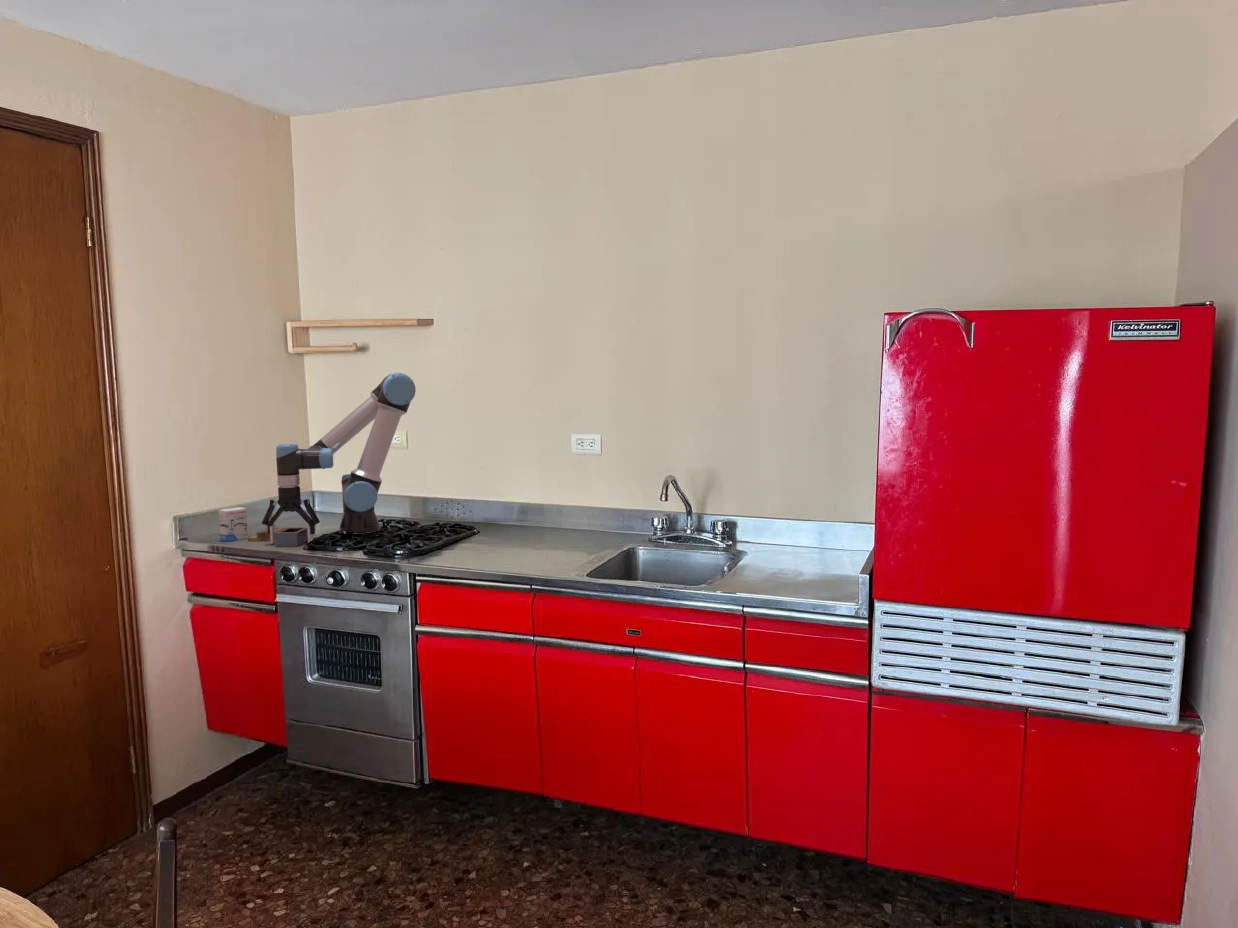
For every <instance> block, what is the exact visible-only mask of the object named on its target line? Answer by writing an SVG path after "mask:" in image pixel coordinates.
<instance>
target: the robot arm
mask: <svg viewBox="0 0 1238 928" xmlns="http://www.w3.org/2000/svg"><path fill="white" fill-rule="evenodd" d="M416 390H417V389H416V384H415V382H414V380H413V379H412V378H411V377H410V376H409V375H407V374H405V373H402V372H394V373H391V374H390V373H389V374H388V375H386V376H385V377H383V379H382V381H381V382H380V383H379V384H377V386H376V387H375V388H374V389H373V390H371V392H370V396H369V397H367V398H366V400H364V401H363V402H362V403H361V404H359V406H357V407H356V408H354V410H352V412H350V413H349V414H347V416H345V417H344V418H343V419H342V420H341V421H340V422H338V423H337V424H336V425H335V426H334V427H333V428H331V429H330V430H329V431H327V432H326V434H325V435H324V436H322V437H321V438H320V439H319V440H317V441H316V442H315V443H314V444H313V445H311V446H310V447H308V448H299V445H298V444H297V443H281V444H278V445H276V448H275V451H276V453H275V454H276V455H275V457H276V458H275V460H276V462H275V463H276V472H277V473H276V475H277V486H278V488H277V489H278V490H277V495H278V499H276V498H273V499H270V500H269V506H268V508H267V511H266V512H265V515H264V517H263V519H262V520H261V525H265V526H267V528H268V535H270V539H271V541H270V544H271V545H273V544H276V543H275V533H276V532H275V528H276V524H275V525H273V523H274V522H276V521H277V520H278V519H279V517H280V516H281V515H282V514H283V513H284V512H285V513H288V512H296V513H297V514H298V515H299V516H300V517H301V518H302V519H303V520H304V521H305V522H306V523H307V525H308V526H306V527H307V533H308V542H307V544H308V543H309V542H310V541H312V540H313V541H314V534H316V529H315V528H316V527H315V526H316V525H318V524H320V520H319V517H318V515H317V514H316V511H315V510H314V508H313V507H312V505H311V502H310V501H311V500H310V499H309V498H306V499H302V498H301V497H302V495H301V486H300V484H301V480H300V479H301V478H300V471H301V470H317V469H318V470H319V469H320V470H326V469H332V468H333V467H334V454H336V453H337V452H338V451H339V450H340V449H341V448H342V447H344V446H345V445H346V444H347V443H349V441H351V440H352V439H353V438H354V437H356V436H357V435H358V434H359V433H361V431H362V430H363V429H365V428H366V427H367V426H368V425H370V423H372V421H373V423H372V426H371V428H370V432H369V434H368V437H367V439H366V443H365V444H364V445H365V446H364V449H363V450H362V451H363V452H362V453H361V457H360V459H359V462H358V465H357V467H356V468H355V469H353V470H351V472H350V474H343V475H342V476H341V482H340V483H341V492H342V496H341V497H342V507H343V508H342V509H343V511H342V512H343V513H342V514H343V515H342V518H341V521H340V524H339V533H340V532H341V531H347V532H354V533H366V532H372V531H378V532H380V531H381V524H380V522H379V520H378V516H377V514H376V512H375V505H376V504H377V501H378V497H379V495H378V493H379V491H380V487H381V486H382V485H381V484H382V483H383V480H382V478H381V476H380V475H381V472H382V471H383V467H384V465H385V462H386V459H387V456H388V454H389V451H390V447H391V445H392V442H393V439H394V437H395V433H396V431H397V429H398V426H399V423H400V420H401V417H402V416H403V415H406V414H407V413H408V410H409V408H410V405H411V402H412V400H413V399H414V398H415V395H416ZM277 505H278V506H279V508H278V509H277V511H276V512H274V511H275V508H276V506H277ZM301 505H303V506H304V508H303V507H302V506H301ZM304 509H305V510H306V511H307V512H306V511H305V510H304ZM272 513H274V516H273V517H272V518H271V519H270V517H271V515H272ZM269 519H270V521H269ZM379 530H380V531H379Z"/></svg>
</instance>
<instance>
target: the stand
mask: <svg viewBox="0 0 1238 928" xmlns="http://www.w3.org/2000/svg"><path fill="white" fill-rule="evenodd" d="M286 528H287V527H275V532H276V533H277V532H279V531H281V530H284V529H286ZM247 542H271V539H270V535H268V527H267V528H264V529H262V530H260V531H257V532H256V534H254V535H251V536H250V537H249V536H248V538H247Z"/></svg>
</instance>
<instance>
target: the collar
mask: <svg viewBox="0 0 1238 928" xmlns="http://www.w3.org/2000/svg"><path fill="white" fill-rule="evenodd" d="M285 528H286V529H284V530H281V531H279V532H277V533H275V543H274V544H275V548H286V547H287V548H289V547H291V548H292V547H293V548H294V547H295V548H296V547H297V548H298V547H300V546H301V545H304V544H305V543H308V533H307V526H305V527H302V526H301V527H285Z"/></svg>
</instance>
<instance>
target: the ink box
mask: <svg viewBox="0 0 1238 928" xmlns="http://www.w3.org/2000/svg"><path fill="white" fill-rule="evenodd" d="M247 514H248V513H247V508H246V507H241V506H239V507H231V508H223V509H222V508H221V509H219V510H218V520H219V521H218V522H219V535H220V537H219V538H220V541H221V542H222V541H223V542H228V543H229V542H234V541H240V540H245V539H248V538H249V535H248V534H249V533H248V515H247Z"/></svg>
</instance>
